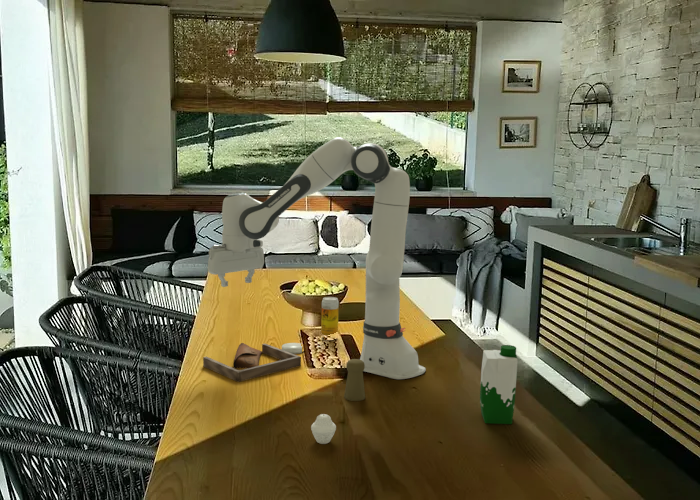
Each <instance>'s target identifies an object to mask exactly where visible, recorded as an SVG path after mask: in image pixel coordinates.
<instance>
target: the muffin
mask: <svg viewBox="0 0 700 500" xmlns="http://www.w3.org/2000/svg"><path fill="white" fill-rule="evenodd" d="M310 429H311V432H312V435H313V437H314V439H315V440H316V442H317V443H319V444H321V445H326V444H328V443H330V442H331V440H332V439H333V436H334V435H335V432H336V430H337V425H336V424H335V423H334V422H333V420H332V418H331V416H330V415H328V414H327V413H326V414H325V413H321V414H319V415H317V416H316V419H315V421H314V422H313V423H312V424H311V425H310Z"/></svg>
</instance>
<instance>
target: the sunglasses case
mask: <svg viewBox="0 0 700 500" xmlns="http://www.w3.org/2000/svg"><path fill="white" fill-rule="evenodd" d="M262 354H263V353H262V350H259V349H256V348H254V347H251V346H249V345H248V344H246V343H243V342H241V343H240V344H239V345H238V347H237V349H236V353H235V355H234V359H233V362H232V363H233V368H234V369H247V368H251V367H256V366H260V358H261V355H262Z"/></svg>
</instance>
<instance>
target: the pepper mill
mask: <svg viewBox="0 0 700 500" xmlns="http://www.w3.org/2000/svg"><path fill="white" fill-rule="evenodd" d="M364 368H365V364H364V362H363V361H362V360H360V358H352V359H349V360H348V361H347V362H346V369H347V376H346V384H345V389H344V396H343V398H344V399H345V400H347V401H351V402H360V401H363V400H365V399H366V393H365V391H366V390H365V383H364V373H363V372H365V371H364Z"/></svg>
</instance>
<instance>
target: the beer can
mask: <svg viewBox="0 0 700 500" xmlns="http://www.w3.org/2000/svg"><path fill="white" fill-rule="evenodd" d="M339 303H340V302H339V299H338V297H336V296H335V297H334V296H325V297H323V298H322V301H321V320H320V321H321V323H320V324H321V325H320V326H321V328H320V329H321V330H320V334H321V333H322V334H324V335H330V334H334V333H336V332H338V333H339V305H340V304H339Z"/></svg>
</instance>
